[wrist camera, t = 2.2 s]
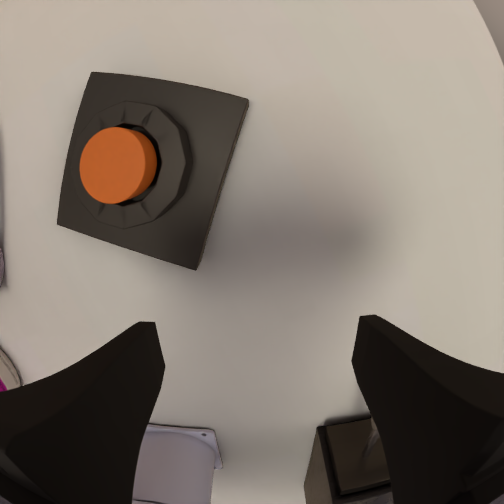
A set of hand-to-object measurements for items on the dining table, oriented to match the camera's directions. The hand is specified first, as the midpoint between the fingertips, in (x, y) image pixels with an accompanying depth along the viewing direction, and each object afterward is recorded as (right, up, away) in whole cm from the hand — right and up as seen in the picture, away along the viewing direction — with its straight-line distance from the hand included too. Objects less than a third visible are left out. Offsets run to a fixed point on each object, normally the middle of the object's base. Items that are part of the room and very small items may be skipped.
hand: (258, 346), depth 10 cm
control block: (-7, +9, +6) cm, 13 cm away
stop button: (-7, +8, +4) cm, 11 cm away
